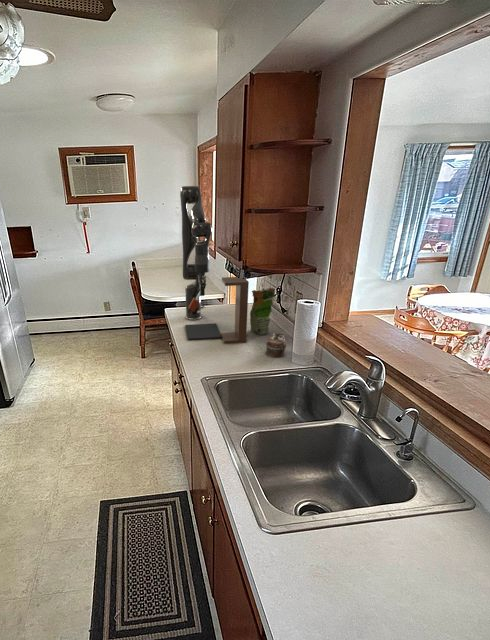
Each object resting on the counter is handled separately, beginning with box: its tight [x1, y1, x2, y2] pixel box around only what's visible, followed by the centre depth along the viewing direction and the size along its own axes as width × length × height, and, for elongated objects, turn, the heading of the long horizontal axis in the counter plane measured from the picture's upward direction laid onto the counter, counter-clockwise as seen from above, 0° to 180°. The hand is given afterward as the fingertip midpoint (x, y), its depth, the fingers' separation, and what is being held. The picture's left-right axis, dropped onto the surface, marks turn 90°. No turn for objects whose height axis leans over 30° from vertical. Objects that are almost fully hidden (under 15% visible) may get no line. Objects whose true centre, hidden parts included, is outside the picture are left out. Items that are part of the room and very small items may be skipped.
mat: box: [185, 322, 222, 341], centre depth 220 cm, size 22×18×1 cm
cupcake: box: [265, 332, 287, 358], centre depth 188 cm, size 10×10×10 cm
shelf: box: [220, 276, 250, 344], centre depth 203 cm, size 12×12×32 cm
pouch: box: [249, 287, 276, 336], centre depth 212 cm, size 11×12×25 cm
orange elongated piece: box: [188, 283, 208, 311], centre depth 211 cm, size 4×16×3 cm
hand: (202, 295), depth 211 cm, fingers closed on orange elongated piece
